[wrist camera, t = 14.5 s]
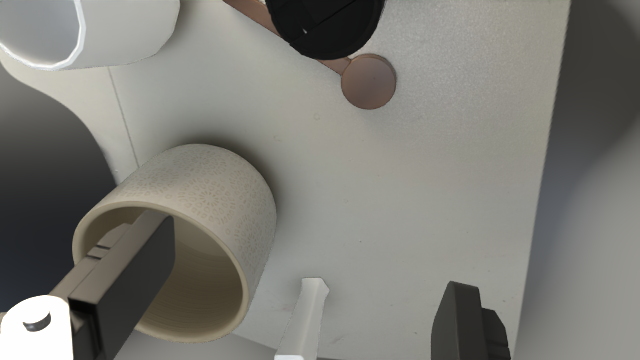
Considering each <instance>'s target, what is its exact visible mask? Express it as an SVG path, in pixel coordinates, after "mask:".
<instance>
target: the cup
mask: <svg viewBox="0 0 640 360" xmlns="http://www.w3.org/2000/svg"><path fill="white" fill-rule="evenodd" d="M179 9H180V1H179V0H0V48H1V49H3V50H4V51H5V52H6V53H7V54H8V55H9V56H10V57H11V58H13V59H15V60H17V61H19V62H21V63H23V64H25V65H27V66H29V67H31V68H33V69H40V70H50V71H60V70H71V69H82V68H93V67H104V66H115V65H126V64H131V63H134V62H137V61H139V60H142V59H145V58H147V57H150V56H153V55H155V54H156V53H157V52H158V51H159V49H160V48H161V47H162V46H163V45H164V44H165V43H166V41H167V40H168V39H169V38H170V37H171V35H172V34H173V32H174V28H175V24H176V21H177V17H178V13H179Z"/></svg>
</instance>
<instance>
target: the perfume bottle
mask: <svg viewBox="0 0 640 360" xmlns="http://www.w3.org/2000/svg"><path fill="white" fill-rule="evenodd" d="M329 292H330V290H329V288H328V287H327V286H326V284H325V283H324V281H323V280H322V279H321V278H319V277H318V278H303V279H302V285H301V293H300V296H299V298H298V300H297V303H296V305H295V308H294V310H293V313H292V315H291V318H290V320H289V323H288V325H287V328H286V330H285V332H284V335H283V337H282V340H281V342H280V345H279V347H278V350H277V352H276V355H275V360H316V357H317V350H318V343H319V335H320V328H321V321H322V314H323V307H324V300H325V298H326V296H327V295H328V293H329Z"/></svg>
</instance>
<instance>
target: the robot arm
mask: <svg viewBox="0 0 640 360" xmlns="http://www.w3.org/2000/svg"><path fill="white" fill-rule="evenodd" d="M175 257H176V252H175V229H174V218H173V217H172V216H171V215H167V214H162V213H158V212H154V211H149V210H146V211H144V212H143V213H142V214H141V215H140V216H139V217H138V218H137V219H136V221H135V222H134V223H133V224H132V225H131V224H126V223H123V224H122V225H120V226H118V227H116V228H114V229H112V230H111V231H109V232H107V233H106V234H105V235H104V236H103V237H102V238H101V239H100V240H99V242H98V243H97V244H96V246H95V247H93V248H92V249H91V250H90V251H89V252H88V253H87V254H86V257H83V258H82V259H81V261H80V262H79V263H78V264H77V265H76V266H75V267H74V268H73V269H72V270H71V271H70V272H69V273H68V274H67V275H66V276H65V277H64V279H63V280H62V281H61V282H60V283H59V284H58V285H57V286H56V287H55V288H54V289H53V290H52V291H51V292H50V293H49V294H48V295H47V296H38V297H34V298H30V299H28V300H25V301H23V302H21V303H19V304H18V305H16V306H15V307H13V308H12V309H11V310H10V311H9V312H4V313H0V360H113V359H114V358H115V356H116V355H117V353H118V352H119V350H120V349H121V347H122V346H123V344H124V343H125V341H126V340H127V338H128V337H129V335H130V334H131V332H132V331H133V329H134V328H135V326H136V325H137V324H138V322H139V321H140V319H141V318H142V316H143V315H144V313H145V312H146V310H147V309H148V307H149V306H150V304H151V303H152V301H153V300H154V298H155V297H156V295H157V294H158V292H159V291H160V289H161V288H162V286H163V285H164V283H165V282H166V280H167V279H168V278H169V276H170V274H171V272H172V270H173V267H174V263H175ZM431 360H511V357H510V351H509V348H508V340H507V335H506V330H505V327H504V325H503V323H502V322H501V320H500V319H499V317H498V315H497V314H496V312H495V311H494V310H490V309H485V308H482V307H481V300H480V293H479V289H478V287H475V286H471V285H467V284H462V283H458V282H454V281H450V282H449V283H448V285H447V287H446V290H445V292H444V295H443V298H442V300H441V303H440V305H439V308H438V311H437V313H436V316H435V319H434V322H433V327H432V333H431Z"/></svg>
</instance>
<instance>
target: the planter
mask: <svg viewBox="0 0 640 360" xmlns="http://www.w3.org/2000/svg"><path fill="white" fill-rule="evenodd" d="M146 210H149V211H154V212H158V213H162V214H167V215H171V216H172V217H173V218H174V229H175V252H176V257H175V263H174V267H173V270H172V272H171V274H170V276H169V278H168V279H167V280H166V282H165V283H164V285H163V286H162V288H161V289H160V291H159V292H158V294H157V295H156V297H155V298H154V300H153V301H152V303H151V304H150V306H149V307H148V309H147V310H146V312H145V313H144V315H143V316H142V318H141V319H140V321H139V322H138V324H137V325H136V326H135V328H134V329H136V330H138V331H140V332H143V333H145V334H147V335H150V336H153V337H156V338H159V339H163V340H168V341H172V342H179V343H203V342H209V341H213V340H216V339H219V338H222V337H224V336H226V335H227V334H229V333H231V332H232V331H233V330H235V329H236V328H237V327H238V326H239V325H240V324H241V322H242V321H243V319H244V318H245V316H246V314H247V312H248V309H249V307H250V305H251V302H252V300H253V297H254V294H255V292H256V289H257V287H258V284H259V281H260V278H261V276H262V273H263V271H264V268H265V265H266V262H267V260H268V257H269V254H270V251H271V248H272V244H273V241H274V236H275V230H276V222H277V215H276V206H275V202H274V198H273V195H272V193H271V190H270V188H269V186H268V185H267V183H266V181H265V180H264V178H263V177H262V176H261V174H260V173H259V172H258V171H257V170H256V169H255V168H254V167H253V166H252V165H251V164H250V163H249V162H247V161H246V160H245V159H243V158H242V157H240V156H239V155H237V154H235V153H233V152H231V151H229V150H227V149H224V148H221V147H217V146H213V145H207V144H186V145H181V146H177V147H173V148H171V149H168V150H166V151H164V152H162V153H160V154H158V155H157V156H155V157H153V158H152V159H150V160H149V161H147V162H146V163H145V164H143V165H142V166H141V167H139V168H138V169H137V170H136V171H135V172H133V173H132V174H131V175H130V176H129V177H127V178H126V179H125V180H124V181H123V182H122V183H121V184H120V185H118V186H117V187H116V188H115V189H114V190H113V191H112V192H111V193H109V194H108V195H107V196H106V197H105V198H104V199H103V200H101V201H100V202H99V203H98V204H97V205H96V206H95V207H94V208H93V209H92V210H90V211H89V212H88V213H87V214H86V216H85V217H84V218H83V219H82V220H81V221H80V223H79V224H78V226H77V228H76V230H75V233H74V237H73V244H72V251H73V259H74V263H75V266H76V265H77V264H78V263H79V262H80V261H81V259H82V258H83V257H86V254H87V253H88V252H89V251H90V250H91V249H92V248H93V247H95V246H96V244H97V243H98V242H99V240H100V239H101V238H102V237H103V236H104V235H105V234H106V233H107V232H109V231H111V230H112V229H114V228H116V227H118V226H120V225H122V224H123V223H126V224H131V225H132V224H133V223H134V222H135V221H136V219H137V218H138V217H139V216H140V215H141V214H142V213H143V212H144V211H146Z"/></svg>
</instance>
